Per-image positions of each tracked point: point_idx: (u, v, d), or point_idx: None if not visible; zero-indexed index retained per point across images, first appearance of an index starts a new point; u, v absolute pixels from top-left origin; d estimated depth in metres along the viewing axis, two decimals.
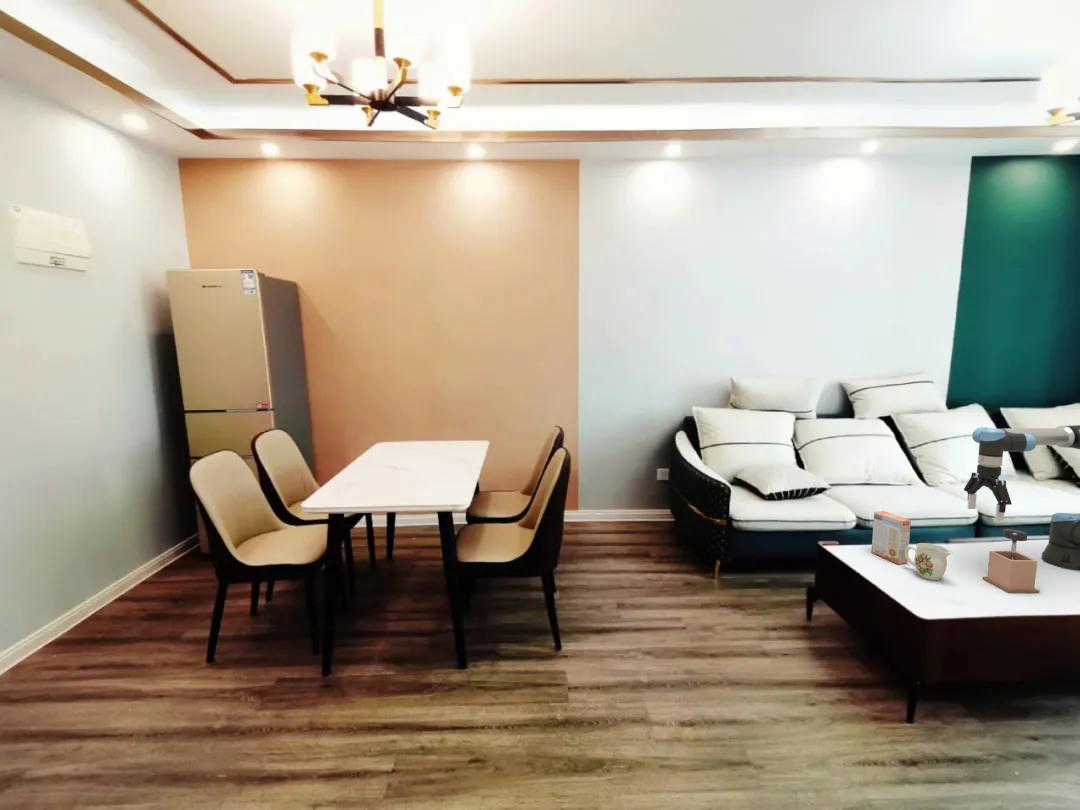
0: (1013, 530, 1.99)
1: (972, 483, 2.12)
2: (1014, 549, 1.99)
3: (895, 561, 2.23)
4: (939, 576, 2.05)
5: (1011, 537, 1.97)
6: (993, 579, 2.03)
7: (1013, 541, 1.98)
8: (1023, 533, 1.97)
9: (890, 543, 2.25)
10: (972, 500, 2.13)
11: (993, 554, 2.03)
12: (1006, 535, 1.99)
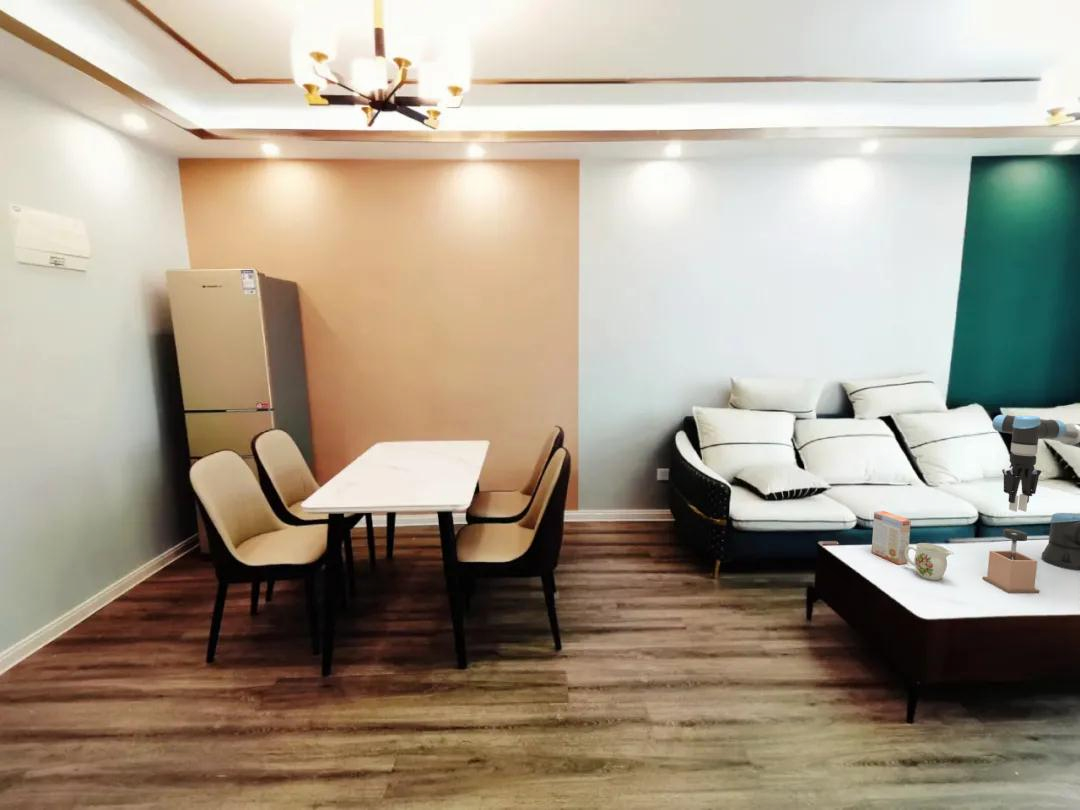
0: (1013, 530, 1.99)
1: (1031, 481, 1.96)
2: (1014, 549, 1.99)
3: (895, 561, 2.23)
4: (939, 576, 2.05)
5: (1011, 537, 1.97)
6: (993, 579, 2.03)
7: (1013, 541, 1.98)
8: (1023, 533, 1.97)
9: (890, 543, 2.25)
10: (1021, 501, 1.97)
11: (993, 554, 2.03)
12: (1006, 535, 1.99)
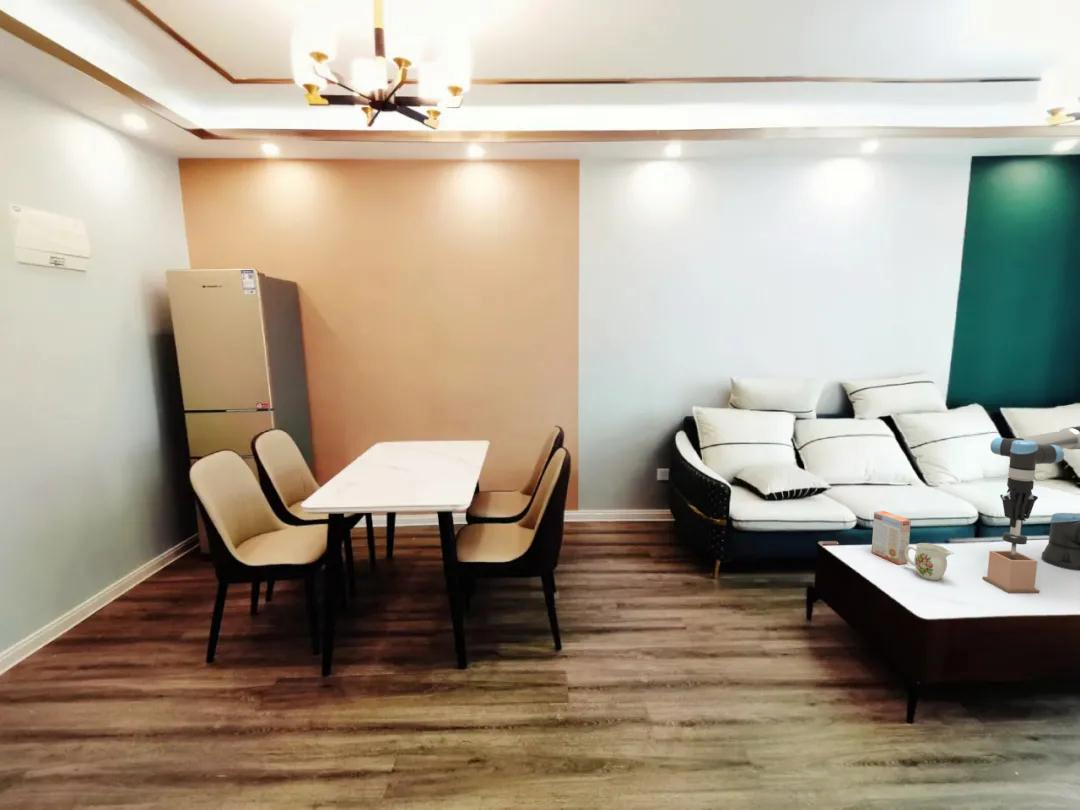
0: None
1: (1026, 506, 1.97)
2: (1014, 552, 1.99)
3: (895, 561, 2.23)
4: (939, 576, 2.05)
5: (1011, 540, 1.97)
6: (993, 579, 2.03)
7: (1013, 545, 1.99)
8: (1023, 536, 1.97)
9: (890, 543, 2.25)
10: None
11: (993, 554, 2.03)
12: (1006, 538, 1.99)
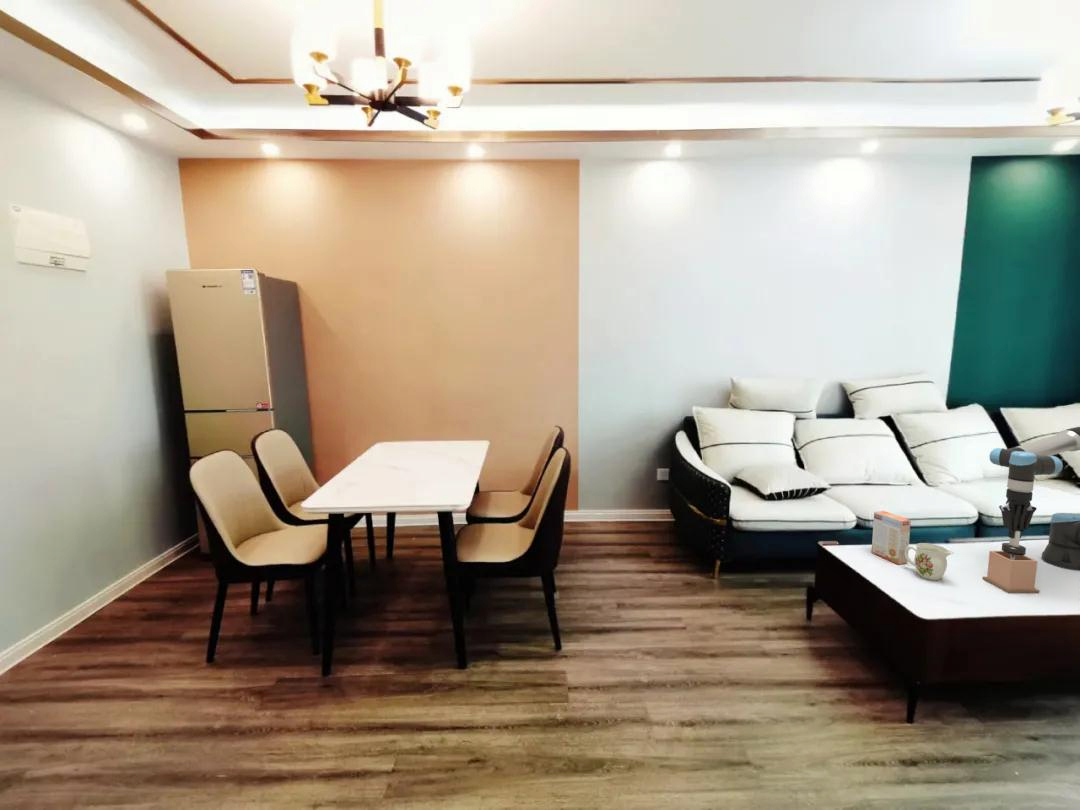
0: (1011, 545, 2.00)
1: (1025, 517, 1.98)
2: None
3: (895, 561, 2.23)
4: (939, 576, 2.05)
5: (1010, 551, 1.98)
6: (993, 579, 2.03)
7: (1012, 555, 1.99)
8: (1022, 547, 1.97)
9: (890, 543, 2.25)
10: None
11: (993, 554, 2.03)
12: (1005, 549, 1.99)
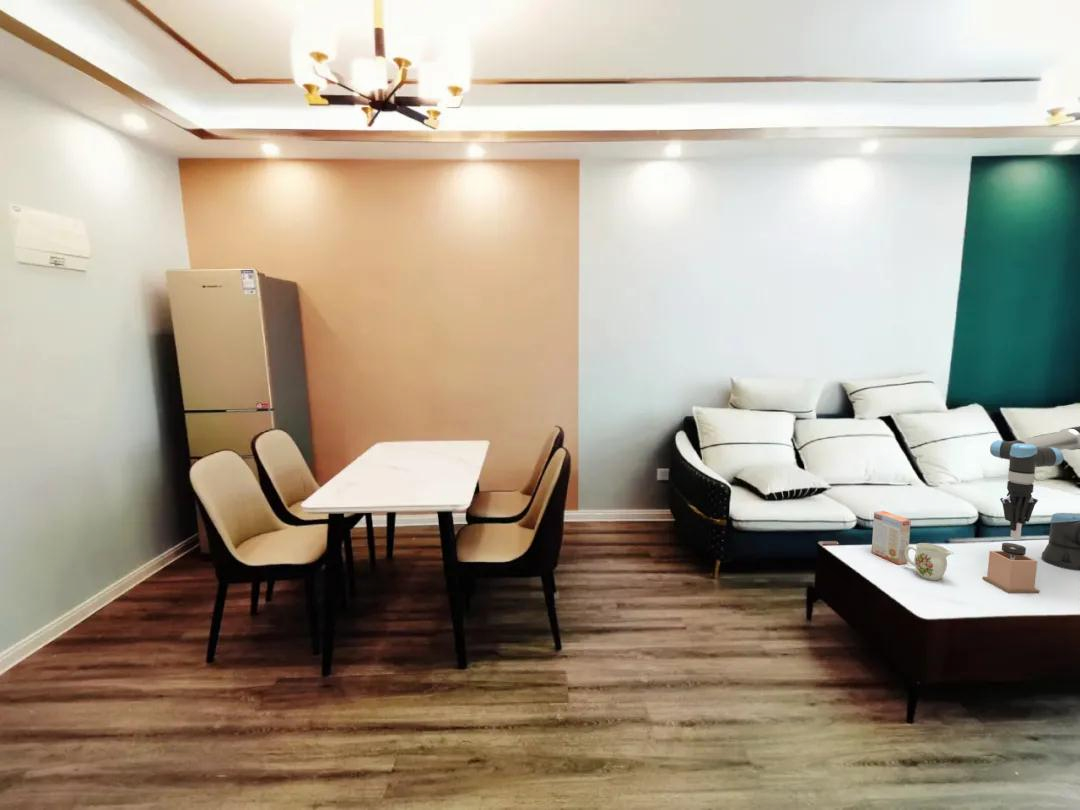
0: (1011, 545, 2.00)
1: (1026, 509, 1.97)
2: None
3: (895, 561, 2.23)
4: (939, 576, 2.05)
5: (1010, 551, 1.98)
6: (993, 579, 2.03)
7: (1012, 555, 1.99)
8: (1022, 547, 1.97)
9: (890, 543, 2.25)
10: None
11: (993, 554, 2.03)
12: (1005, 549, 1.99)
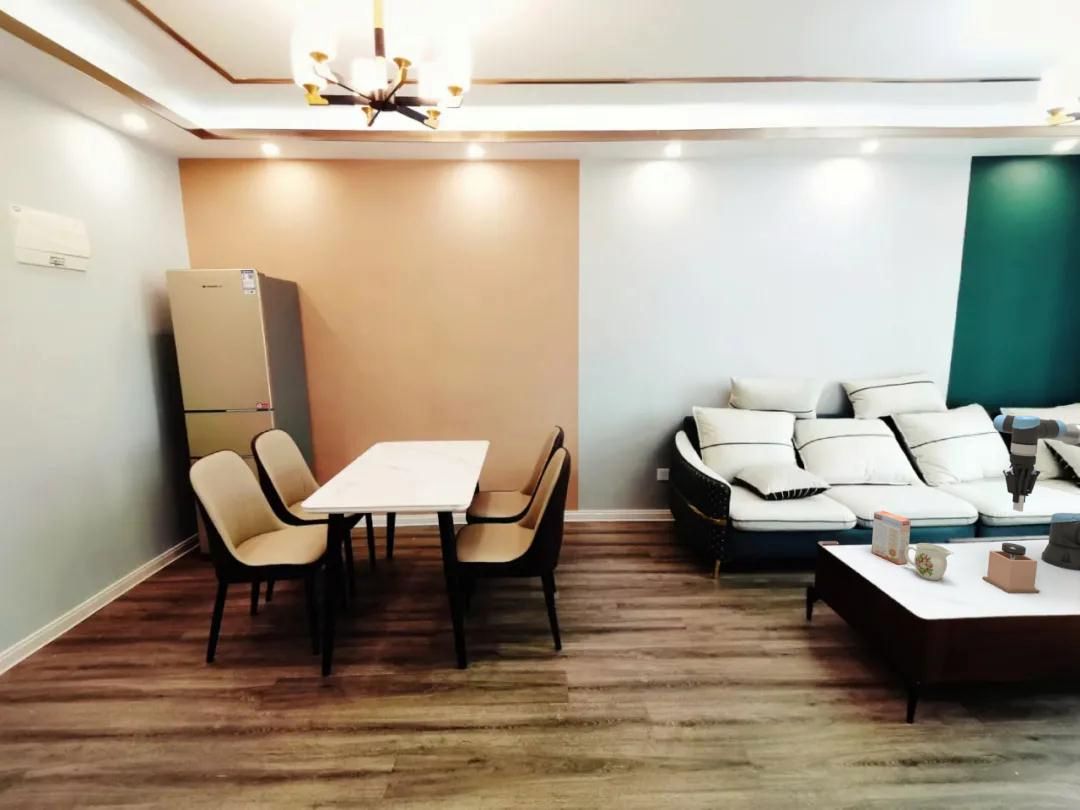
0: (1011, 545, 2.00)
1: (1028, 481, 1.97)
2: None
3: (895, 561, 2.23)
4: (939, 576, 2.05)
5: (1010, 551, 1.98)
6: (993, 579, 2.03)
7: (1012, 555, 1.99)
8: (1022, 547, 1.97)
9: (890, 543, 2.25)
10: None
11: (993, 554, 2.03)
12: (1005, 549, 1.99)
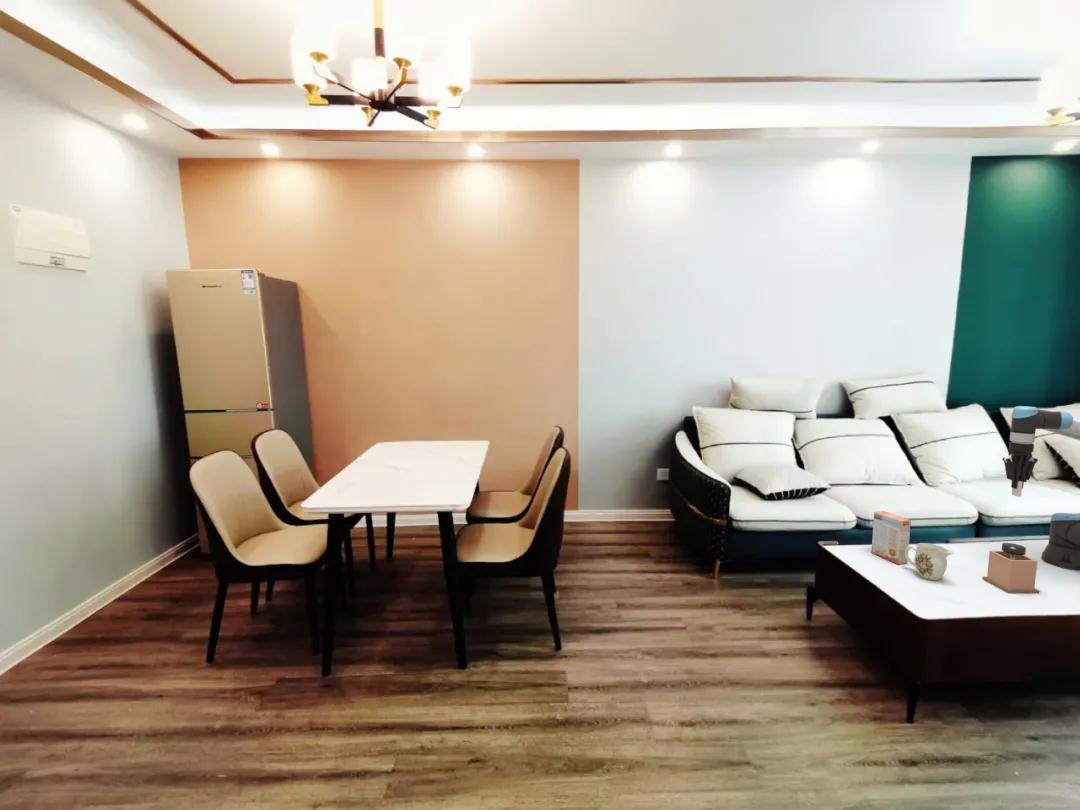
0: (1011, 545, 2.00)
1: (1026, 468, 2.09)
2: None
3: (895, 561, 2.23)
4: (939, 576, 2.05)
5: (1010, 551, 1.98)
6: (993, 579, 2.03)
7: (1012, 555, 1.99)
8: (1022, 547, 1.97)
9: (890, 543, 2.25)
10: None
11: (993, 554, 2.03)
12: (1005, 549, 1.99)
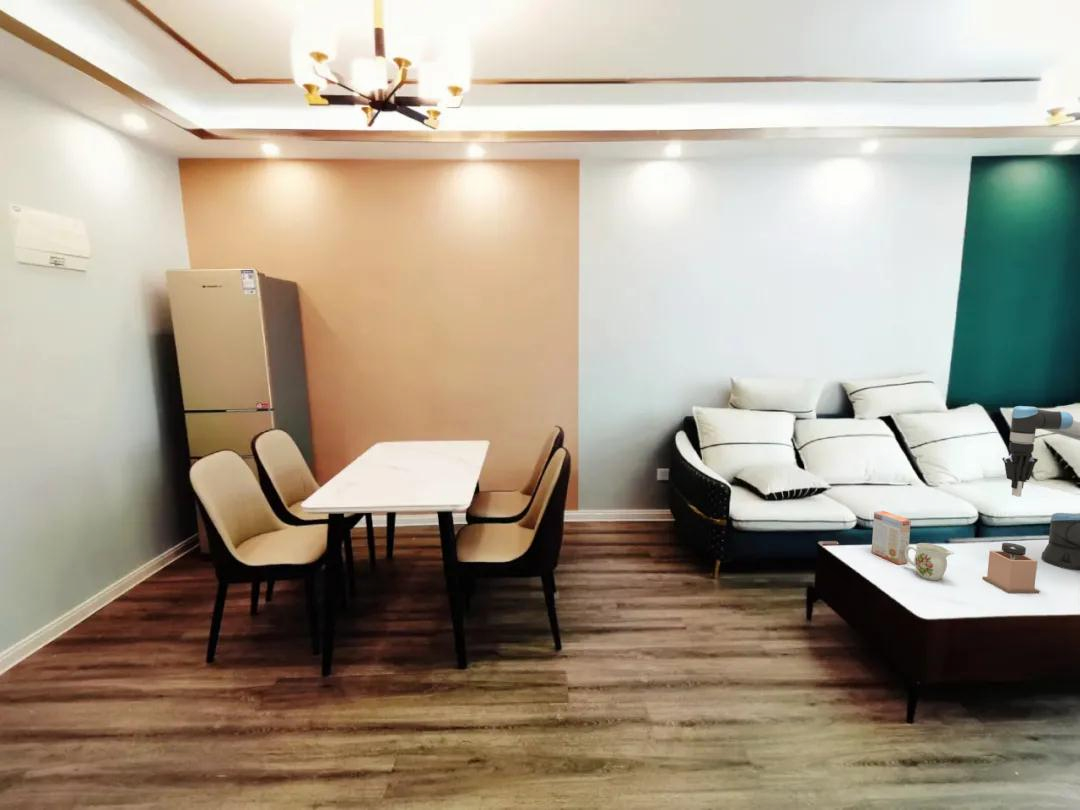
0: (1011, 545, 2.00)
1: (1026, 468, 2.09)
2: None
3: (895, 561, 2.23)
4: (939, 576, 2.05)
5: (1010, 551, 1.98)
6: (993, 579, 2.03)
7: (1012, 555, 1.99)
8: (1022, 547, 1.97)
9: (890, 543, 2.25)
10: None
11: (993, 554, 2.03)
12: (1005, 549, 1.99)
